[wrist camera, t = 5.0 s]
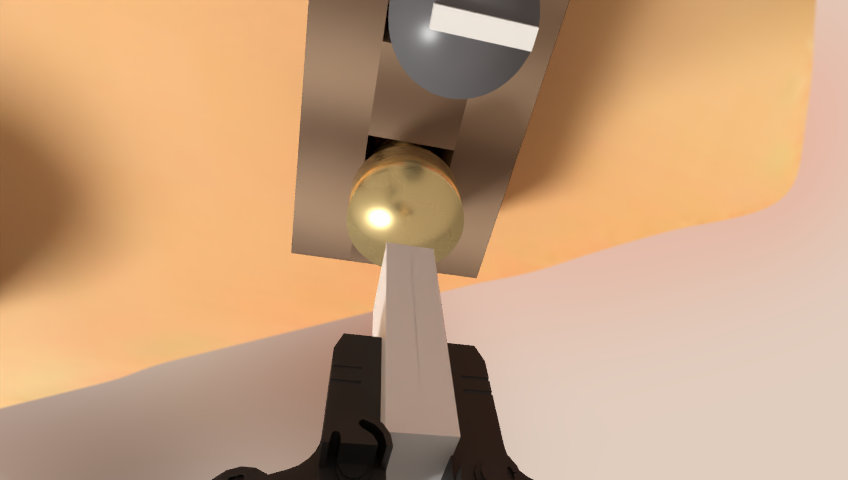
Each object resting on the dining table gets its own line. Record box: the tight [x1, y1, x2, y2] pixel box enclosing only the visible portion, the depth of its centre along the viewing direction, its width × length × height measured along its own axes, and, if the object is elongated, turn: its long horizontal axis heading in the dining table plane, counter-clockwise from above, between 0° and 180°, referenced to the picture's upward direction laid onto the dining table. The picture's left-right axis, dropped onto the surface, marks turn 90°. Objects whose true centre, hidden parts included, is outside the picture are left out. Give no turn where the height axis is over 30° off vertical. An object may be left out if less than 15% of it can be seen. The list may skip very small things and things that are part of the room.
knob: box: [346, 136, 464, 267], centre depth 23 cm, size 5×5×9 cm
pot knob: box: [388, 0, 540, 99], centre depth 16 cm, size 4×4×10 cm
